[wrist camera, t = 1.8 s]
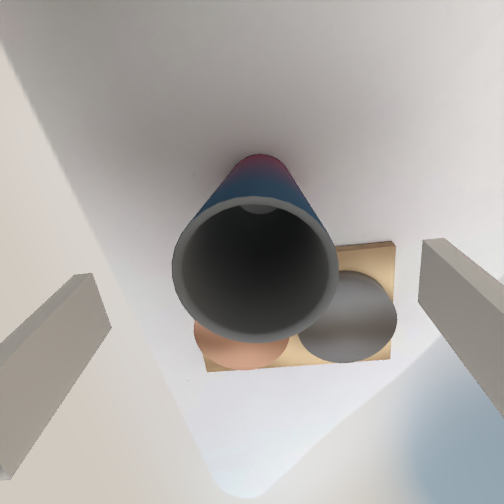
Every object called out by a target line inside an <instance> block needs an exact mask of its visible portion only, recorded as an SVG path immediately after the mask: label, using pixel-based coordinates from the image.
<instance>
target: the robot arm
mask: <svg viewBox="0 0 504 504" xmlns="http://www.w3.org/2000/svg"><path fill="white" fill-rule="evenodd" d="M418 303H419V304H420V305H421V307H422V308H423V310H424V311H425V312H426V314H427V315H428V316H429V318H430V319H431V320H432V322H433V323H434V324H435V326H436V327H437V328H438V330H439V331H440V333H441V334H442V335H443V337H444V338H445V339H446V341H447V342H448V343H449V345H450V346H451V347H452V349H453V350H454V351H455V353H456V354H457V355H458V357H459V358H460V360H461V361H462V362H463V364H464V365H465V366H466V368H467V369H468V370H469V372H470V373H471V375H472V376H473V377H474V379H475V380H476V381H477V383H478V384H479V385H480V387H481V388H482V389H483V391H484V392H485V393H486V395H487V396H488V398H489V399H490V400H491V401H492V403H493V404H494V406H495V407H496V408H497V410H498V411H499V412H500V414H501V415H502V416H503V418H504V285H502V284H501V283H500V282H499V281H497V280H496V279H495V278H494V277H492V276H491V275H490V274H489V273H487V272H486V271H485V270H484V269H482V268H481V267H480V266H479V265H477V264H476V263H475V262H474V261H472V260H471V259H470V258H469V257H467V256H466V255H465V254H464V253H462V252H461V251H460V250H458V249H457V248H456V247H455V246H453V245H452V244H451V243H450V242H448V241H447V240H446V239H445V238H438V239H428V240H423V244H422V256H421V269H420V281H419V294H418ZM111 328H112V327H111V325H110V322H109V319H108V316H107V313H106V311H105V308H104V305H103V302H102V300H101V297H100V294H99V291H98V288H97V285H96V283H95V280H94V277H93V274H92V273H88V274H78V275H74V276H73V277H72V278H70V280H68V281H67V282H66V283H65V284H64V285H63V286H62V287H61V288H60V289H59V290H58V291H57V292H55V293H54V294H53V295H52V296H51V297H50V298H49V299H48V300H47V301H46V302H45V303H44V304H43V305H42V306H40V307H39V308H38V309H37V310H36V311H35V312H34V313H33V314H32V315H31V316H30V317H29V318H27V319H26V320H25V321H24V322H23V323H22V324H21V325H20V326H19V327H18V328H17V329H16V330H15V331H14V332H13V333H11V334H10V335H9V336H8V337H7V338H6V339H5V340H4V341H3V342H2V343H1V344H0V480H10V479H11V478H12V476H13V475H14V473H15V472H16V470H17V469H18V467H19V466H20V464H21V463H22V462H23V460H24V459H25V457H26V455H27V454H28V452H29V451H30V450H31V448H32V447H33V445H34V443H35V442H36V440H37V439H38V438H39V436H40V435H41V433H42V431H43V430H44V428H45V427H46V426H47V424H48V423H49V421H50V420H51V418H52V416H53V415H54V414H55V412H56V411H57V409H58V408H59V406H60V404H61V403H62V401H63V400H64V399H65V397H66V396H67V394H68V393H69V391H70V390H71V388H72V386H73V385H74V384H75V382H76V381H77V379H78V377H79V376H80V375H81V373H82V371H83V370H84V369H85V367H86V366H87V364H88V363H89V361H90V360H91V358H92V357H93V355H94V354H95V352H96V351H97V349H98V348H99V346H100V345H101V343H102V341H103V340H104V338H105V337H106V336H107V334H108V333H109V331H110V330H111Z"/></svg>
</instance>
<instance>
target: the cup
mask: <svg viewBox="0 0 504 504" xmlns="http://www.w3.org/2000/svg"><path fill="white" fill-rule="evenodd" d="M172 278H173V282H174V286H175V290H176V293H177V295H178V297H179V299H180V301H181V303H182V305H183V306H184V307H185V309H186V310H187V311H188V313H189V314H190V315H191V316H192V317H193V318H194V319H195V320H196V321H197V322H198V323H199V324H200V325H202V326H203V327H205V328H206V329H208V330H210V331H211V332H213V333H215V334H217V335H219V336H222V337H224V338H227V339H230V340H234V341H238V342H244V343H270V342H275V341H279V340H283V339H286V338H289V337H291V336H294V335H296V334H299V333H300V332H302V331H303V330H305V329H306V328H308V327H310V326H311V325H312V324H313V323H314V322H315V321H316V320H318V319H319V318H320V317H321V316H322V314H323V313H324V312H325V310H326V309H327V308H328V306H329V305H330V303H331V301H332V299H333V296H334V294H335V292H336V288H337V284H338V279H339V261H338V257H337V253H336V249H335V246H334V244H333V242H332V240H331V238H330V236H329V234H328V233H327V231H326V229H325V228H324V226H323V225H322V223H321V222H320V220H319V218H318V217H317V215H316V214H315V212H314V211H313V209H312V207H311V206H310V204H309V203H308V201H307V200H306V198H305V196H304V195H303V193H302V192H301V190H300V189H299V187H298V185H297V184H296V182H295V181H294V179H293V178H292V176H291V174H290V173H289V171H288V170H287V168H286V167H285V166H284V164H283V163H281V162H280V161H279V160H278V159H276V158H274V157H272V156H269V155H263V154H257V155H252V156H249V157H246V158H245V159H243V160H241V161H240V162H239V163H238V164H237V165H236V166H235V168H234V169H233V170H232V171H231V172H230V174H229V175H228V176H227V177H226V179H225V180H224V181H223V182H222V184H221V185H220V186H219V187H218V188H217V190H216V191H215V192H214V193H213V195H212V196H211V197H210V198H209V199H208V201H207V202H206V203H205V204H204V206H203V207H202V208H201V209H200V211H199V212H198V213H197V214H196V215H195V217H194V218H193V219H192V220H191V222H190V223H189V224H188V226H187V227H186V228H185V230H184V231H183V232H182V233H181V235H180V237H179V240H178V242H177V244H176V246H175V249H174V254H173V259H172Z"/></svg>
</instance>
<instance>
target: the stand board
mask: <svg viewBox="0 0 504 504" xmlns="http://www.w3.org/2000/svg"><path fill="white" fill-rule="evenodd" d="M335 249H336V253H337V257H338V261H339V279H338V284H337V288H336V292H335V294H334V296H333V299H332V301H331V303H330V305H329V306H328V308H327V309H326V310H325V312H324V313H323V314H322V316H321V317H320V318H319V319H318V320H316V321H315V322H314V323H313V324H312V325H311V326H310V327H308V328H306V329H305V330H303V331H302V332H300V333H299V334H296V335H294V336H291V337H289V338H286V339H283V340H279V341H275V342H270V343H244V342H238V341H234V340H230V339H227V338H224V337H222V336H219V335H217V334H215V333H213V332H211V331H210V330H208V329H206V328H205V327H203V326H202V325H200V324H199V323H198V322H197V321H196V320H195V323H194V336H195V340H196V343H197V345H198V347H199V348H200V350H201V351H202V353H203V357H204V361H205V365H206V369H207V372H217V371H231V370H252V369H259V368H273V367H287V366H301V365H315V364H329V363H351V362H357V361H371V360H386V359H390V351H391V338H392V336H393V334H394V332H395V329H396V324H397V314H396V310H395V307H394V305H393V291H394V271H395V251H396V246H395V245H394V243H393V242H392V241H390V242H380V243H370V244H360V245H350V246H340V247H335Z"/></svg>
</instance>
